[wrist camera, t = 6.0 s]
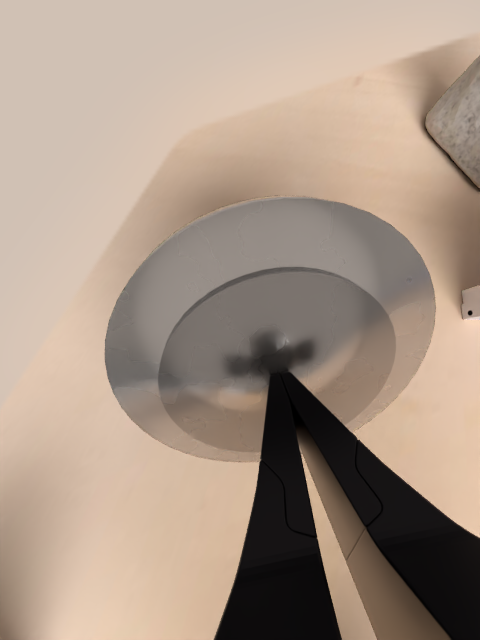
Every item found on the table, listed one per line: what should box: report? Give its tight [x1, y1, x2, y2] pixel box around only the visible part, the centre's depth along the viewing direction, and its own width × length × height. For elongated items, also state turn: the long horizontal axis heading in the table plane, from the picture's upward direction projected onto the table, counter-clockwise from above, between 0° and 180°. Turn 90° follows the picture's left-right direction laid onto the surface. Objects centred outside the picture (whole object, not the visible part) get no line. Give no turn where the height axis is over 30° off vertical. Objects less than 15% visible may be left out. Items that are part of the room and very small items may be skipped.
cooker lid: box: [105, 195, 436, 462], centre depth 10 cm, size 14×14×2 cm
